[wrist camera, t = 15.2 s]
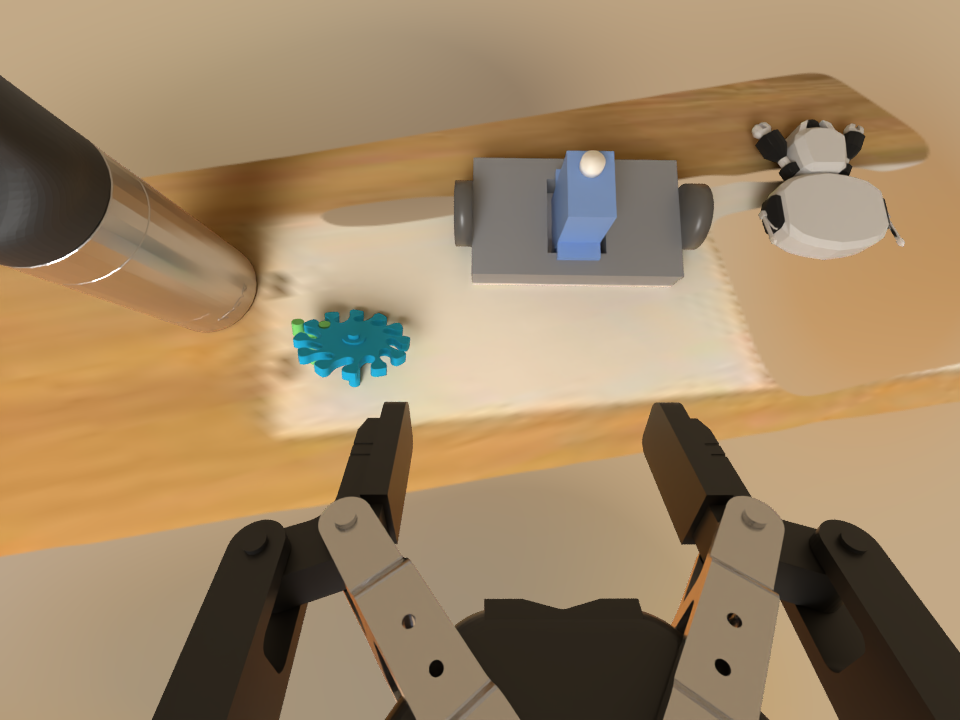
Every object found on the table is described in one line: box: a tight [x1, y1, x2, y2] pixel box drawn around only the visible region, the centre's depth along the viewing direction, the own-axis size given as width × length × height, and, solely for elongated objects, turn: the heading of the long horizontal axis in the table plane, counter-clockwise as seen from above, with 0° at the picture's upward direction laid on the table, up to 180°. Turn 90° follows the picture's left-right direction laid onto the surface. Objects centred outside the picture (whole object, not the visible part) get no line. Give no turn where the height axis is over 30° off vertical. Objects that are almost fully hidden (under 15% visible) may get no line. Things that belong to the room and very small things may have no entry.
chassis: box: [454, 158, 714, 287], centre depth 41 cm, size 12×23×6 cm, turn 89°
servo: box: [551, 150, 617, 260], centre depth 39 cm, size 9×4×9 cm, turn 179°
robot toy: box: [752, 120, 905, 260], centre depth 43 cm, size 12×4×15 cm
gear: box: [292, 309, 410, 387], centre depth 40 cm, size 11×6×10 cm
